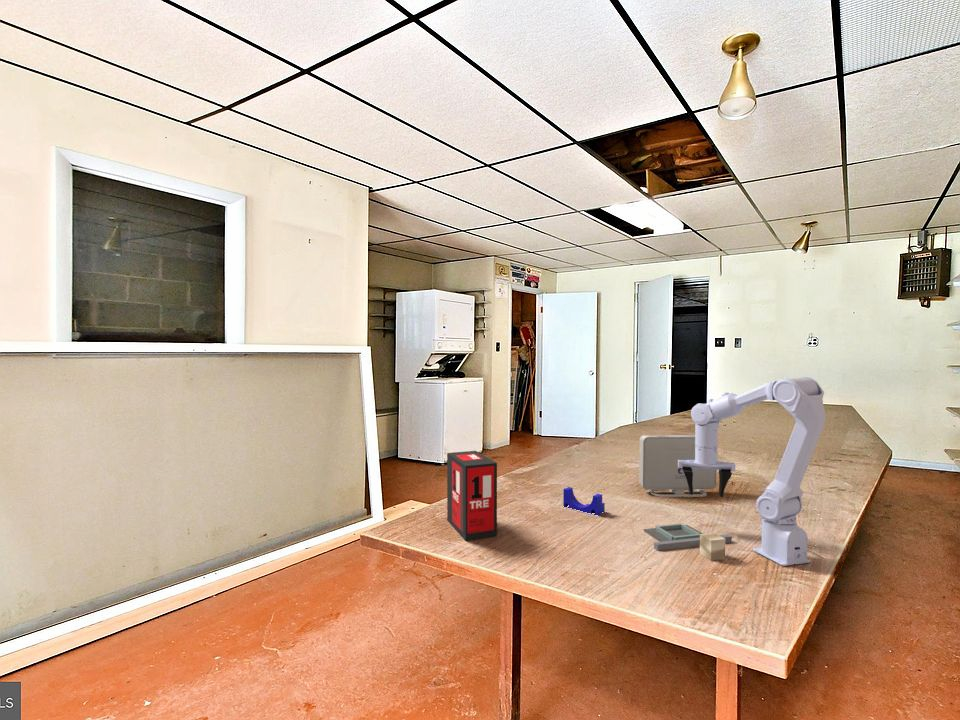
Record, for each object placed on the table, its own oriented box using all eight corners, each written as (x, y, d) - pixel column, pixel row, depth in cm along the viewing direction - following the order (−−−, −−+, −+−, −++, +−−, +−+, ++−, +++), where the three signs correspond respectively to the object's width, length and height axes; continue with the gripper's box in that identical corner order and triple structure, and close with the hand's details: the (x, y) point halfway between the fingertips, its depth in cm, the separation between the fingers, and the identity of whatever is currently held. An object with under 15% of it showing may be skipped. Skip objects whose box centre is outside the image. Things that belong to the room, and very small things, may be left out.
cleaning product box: (496, 536, 135) (496, 463, 135) (465, 541, 132) (465, 465, 131) (475, 516, 151) (475, 450, 150) (447, 520, 148) (447, 452, 147)
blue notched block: (604, 512, 155) (604, 493, 155) (597, 516, 152) (597, 496, 151) (571, 504, 163) (571, 486, 163) (563, 507, 160) (563, 489, 159)
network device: (645, 497, 170) (645, 438, 169) (636, 489, 179) (636, 433, 178) (719, 496, 171) (720, 438, 170) (707, 489, 180) (707, 433, 179)
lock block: (725, 559, 121) (725, 538, 121) (710, 561, 120) (711, 540, 120) (713, 552, 125) (713, 532, 125) (699, 554, 124) (700, 534, 124)
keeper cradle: (714, 541, 132) (714, 535, 132) (667, 546, 129) (667, 540, 129) (687, 526, 143) (687, 521, 143) (643, 530, 140) (643, 525, 140)
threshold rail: (731, 542, 132) (731, 536, 132) (657, 550, 126) (657, 544, 126) (727, 539, 133) (727, 534, 133) (654, 548, 128) (654, 542, 128)
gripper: (731, 445, 142) (731, 492, 142) (677, 442, 146) (676, 488, 146) (737, 450, 135) (736, 500, 135) (679, 447, 139) (679, 495, 139)
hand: (705, 494), depth 140 cm, fingers open, 7 cm apart
